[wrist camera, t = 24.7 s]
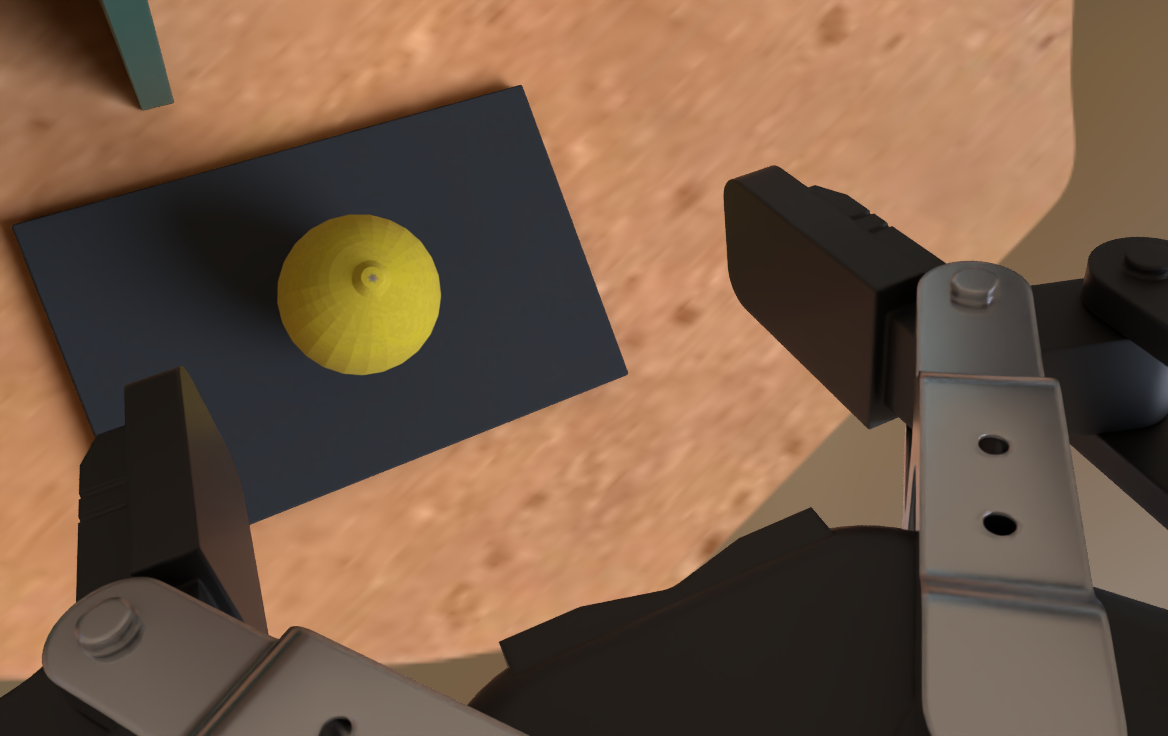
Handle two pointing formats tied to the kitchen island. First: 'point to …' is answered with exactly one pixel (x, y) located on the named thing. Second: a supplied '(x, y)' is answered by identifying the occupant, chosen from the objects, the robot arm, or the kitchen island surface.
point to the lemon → (359, 294)
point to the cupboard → (139, 50)
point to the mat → (250, 292)
